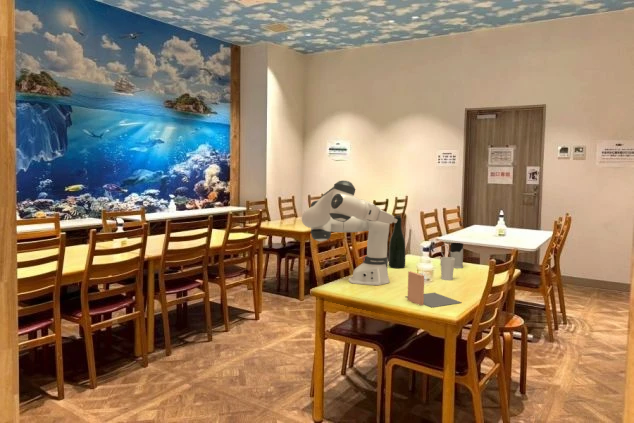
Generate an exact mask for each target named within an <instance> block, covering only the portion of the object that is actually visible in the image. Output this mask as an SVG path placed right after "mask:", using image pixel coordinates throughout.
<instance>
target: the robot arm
mask: <svg viewBox="0 0 634 423" xmlns="http://www.w3.org/2000/svg"><path fill="white" fill-rule="evenodd" d="M355 194H356V188H355V186H354V185H353V183H352V182H351V181H348V180H338V181H337V182H336V183H334V185H333V186H332V187H331V188H330V189H329V190H328V191H327V190H326V192H325V193H324V194H322V196H321V197H320V198H319V199H316V200H314V201H312V202H311V203H310V207H308V208H307V209H306V210H304V212H303V213H302V214H301V222H302V224H303V225H304V226H305V227H306V228H310V234H311V235H310V236H311V238H312V239H313V240H314V241H318V242H326V241H328V240H329V239H330V238H331V236H332V232H333V233H359V232H366V231H368V235H367V243H366V255H363V256H362V263H361V264H359V265H358V266H357V267H355V268H354V269H353V272H352V276H350V277H349V278H348V282H349V283H350V284H354V285H355V284H357V285H368V286H380V285H381V286H382V285H385V284H388V283H390V278H389V273H388V267H389V256H388V240H389V233H390V224H393V223H394V224H395V223H397V219H395V216H394V215H393V214H391V213H388V212H387V211H385V210H382V208H380V207H378V206H377V205H375V204H374V203H373V202H371V201H368V200H366V199H359V198H358V197H356V196H355Z"/></svg>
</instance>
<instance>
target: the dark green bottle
mask: <svg viewBox="0 0 634 423" xmlns="http://www.w3.org/2000/svg"><path fill="white" fill-rule="evenodd" d="M394 218H395V219H397V223H394V226H393V232H392V234H391V236H390V239H389V243H388V244H389V245H388V246H389V247H388V248H389V249H388V267H389V268H391V269H404V268H405V267H406V239H405V237H404V236H405V235H404V233H403V228H402V220H403V219H402V216H401V215H400V214H395V216H394Z"/></svg>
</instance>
